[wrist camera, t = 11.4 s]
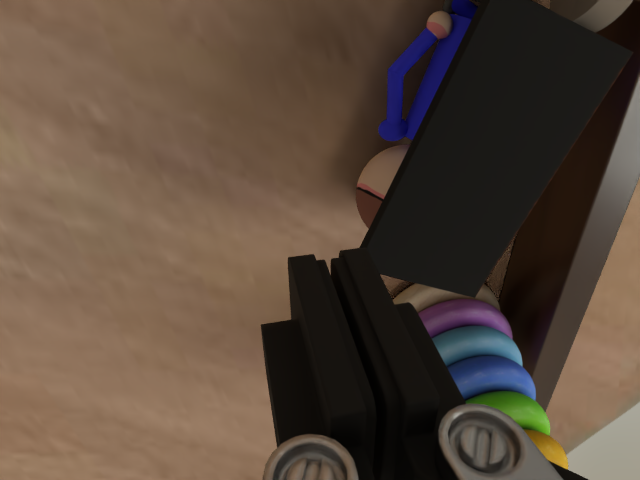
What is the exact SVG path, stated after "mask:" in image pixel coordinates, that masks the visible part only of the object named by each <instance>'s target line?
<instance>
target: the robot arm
mask: <svg viewBox="0 0 640 480" xmlns="http://www.w3.org/2000/svg"><path fill="white" fill-rule="evenodd" d="M288 274H289V290H290V307H291V320H287V321H281V322H274V323H267V324H261V331H262V341H263V350H264V358H265V366H266V374H267V381H268V388H269V395H270V402H271V409H272V415H273V422H274V429H275V436H276V442H277V449H276V450H274V451H273V452H272V454H271V456H270V458H269V459H268V461H267V463H266V465H265V470H264V475H263V480H588V479H586V478H584V477H582V476H580V475H578V474H576V473H573V472H571V471H569V470H567V469H565V468H563V467H561V466H559V465H557V464H555V463H553V462H551V461H549V460H547V459H546V457H545V456H544V455H543V454H542V452H541V451H540V450H539V449H538V447H537V446H536V445H535V444H534V442H533V441H532V440H531V439H530V437H529V436H528V435H527V434H526V432H525V431H524V430H523V429H522V428H521V426H520V425H519V424H518V423H517V422H515V421H514V420H513V419H512V418H511V417H510V416H509V415H507V414H505V413H504V412H502V411H500V410H499V409H496V408H493V407H490V406H487V405H484V404H473V403H470V404H466V402H465V400H464V398H463V396H462V394H461V392H460V391H459V389H458V387H457V385H456V383H455V381H454V379H453V378H452V376H451V374H450V372H449V370H448V368H447V366H446V365H445V363H444V361H443V359H442V357H441V355H440V353H439V352H438V350H437V348H436V346H435V344H434V342H433V340H432V339H431V337H430V335H429V333H428V331H427V329H426V327H425V326H424V324H423V322H422V320H421V318H420V316H419V314H418V313H417V311H416V309H415V308H414V306H413V305H412V304H411V303H410V302H407V303H400V304H394V302H393V300H392V298H391V296H390V294H389V292H388V290H387V288H386V286H385V284H384V282H383V280H382V278H381V276H380V274H379V272H378V270H377V268H376V266H375V264H374V262H373V260H372V258H371V256H370V254H369V252H368V250H367V248H357V249H350V250H342V251H340V253H339V258H333V259H331V275H330V273H329V270H328V267H327V264H326V262H325V260H318V261H316V258H315V256H314V254H311V255H304V256H296V257H288Z"/></svg>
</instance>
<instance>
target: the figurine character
mask: <svg viewBox="0 0 640 480" xmlns="http://www.w3.org/2000/svg"><path fill="white" fill-rule="evenodd" d="M475 1H477V2H479V3H480V4H479V6H476V5H475V4H473V3H472V2H470V1H469V0H445V3H444V5H443V11H437V12H434V13H433V14H432V15H431V16H430V17H429V18H428V21H427V27H426V28H425V29H424V30H423V31H422V33H421V34H420V35H419V36H418V37H417V38H416V39H415V40H414V41H413V42H412V43H411V45H410V46H409V47H408V48H407V49H406V50H405V51H404V52H403V53H402V54H401V56H400V57H399V58H398V59H397V60H396V61H395V62H394V63H393V64H392V65H391V66H390V68H389V69H388V84H387V119H385V120H384V121H383V122H382V123H381V124H380V125H379V128H378V132H379V135H380V136H381V137H382V138H383V139H385V140H387V141H397V140H400V139H402V138H403V137H407V138H409V139H411V140H412V142H411V144H405V145H398V146H394V147H390V148H388V149H386V150H383V151H382V152H380V153H379V154H377V155H376V156H375V157H373V158H372V159H371V160H370V161H369V162H368V164H367V165H366V166H365V168H364V169H363V171H362V173H361V175H360V177H359V180H358V183H357V188H356V203H357V207H358V211H359V214H360V216H361V218H362V220H363V222H364V223H365V225H366V226H367V227H368V228H369V230H368V232H367V234H366V236H365V238H364V240H363V242H362V244H361V246H360V248H367V250H368V252H369V254H370V256H371V258H372V260H373V262H374V264H375V266H376V268H377V270H378V272H379V274H381V275H385V276H389V277H393V278H397V279H401V280H405V281H409V282H413V283H417V284H421V285H425V286H429V287H433V288H437V289H441V290H445V291H449V292H453V293H457V294H461V295H465V296H469V297H473V298H475V297H476V295H477V294H478V292H479V291H480V289H481V288H482V286H483V284H484V283H485V281H486V280H487V278H488V277H489V275H490V274H491V272H492V271H493V269H494V267H495V266H496V264H497V263H498V261H499V260H500V258H501V257H502V255H503V254H504V252H505V250H506V249H507V247H508V246H509V244H510V243H511V241H512V240H513V238H514V237H515V235H516V233H517V232H518V230H519V229H520V227H521V226H522V224H523V223H524V221H525V220H526V218H527V216H528V215H529V213H530V212H531V210H532V209H533V207H534V206H535V204H536V203H537V201H538V199H539V198H540V196H541V195H542V193H543V192H544V190H545V189H546V187H547V186H548V184H549V182H550V181H551V179H552V178H553V176H554V175H555V173H556V172H557V170H558V169H559V167H560V165H561V164H562V162H563V161H564V159H565V158H566V156H567V155H568V153H569V152H570V150H571V148H572V147H573V145H574V144H575V142H576V141H577V139H578V138H579V136H580V135H581V133H582V131H583V130H584V128H585V127H586V125H587V124H588V122H589V121H590V119H591V118H592V116H593V114H594V113H595V111H596V110H597V108H598V107H599V105H600V104H601V102H602V100H603V99H604V97H605V96H606V94H607V93H608V91H609V90H610V88H611V87H612V85H613V83H614V82H615V80H616V79H617V77H618V76H619V74H620V73H621V71H622V70H623V68H624V66H625V65H626V63H627V62H628V60H629V59H630V57H631V56H632V54H633V53H634V52H632V51H630V50H628V49H626V48H624V47H622V46H620V45H618V44H616V43H614V42H612V41H610V40H608V39H607V38H605V37H603V36H601V35H599V34H597V33H595V32H598V31H600V30H602V29H603V28H605V27H606V26H608V25H609V24H611V23H612V22H613V21H614V20H616V19H617V18H618V17H619V16H620V15H621V14H622V13H623V12H624V11H625V10H626V9H627V7H628V6H629V5H630V4H631V3H632V1H633V0H550V10H549V9H547V8H545V7H543V6H542V5H540V4H538V3H536V2H534V1H532V0H475ZM455 13H456V14H458V15H455ZM437 39H439V42H438V44H437V46H436V49H435V51H434V54H433V56H432V58H431V61H430V63H429V65H428V68H427V70H426V72H425V75H424V77H423V80H422V82H421V84H420V87H419V89H418V91H417V94H416V96H415V99H414V101H413V103H412V106H411V108H410V110H409V113H408V115H407V117H406V120H404V119H402V104H403V80H404V75H405V74H406V73H407V72H408V71H409V69H410V68H411V67H412V66H413V65H414V64H415V63H416V62H417V61H418V60H419V59H420V58H421V56H422V55H423V54H424V53H425V52H426V51H427V50H428V49H429V48H430V47H431V46H432V45H433V44H434V42H435V41H436V40H437Z"/></svg>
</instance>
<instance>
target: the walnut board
mask: <svg viewBox="0 0 640 480" xmlns="http://www.w3.org/2000/svg"><path fill="white" fill-rule="evenodd" d="M595 33H597V34H599V35H601V36H603V37H605V38H607V39H608V40H610V41H612V42H614V43H616V44H618V45H620V46H622V47H624V48H626V49H628V50H630V51H632V52H634V53H633V54H632V56H631V57H630V59H629V60H628V62H627V63H626V65H625V66H624V68H623V70H622V71H621V73H620V74H619V76H618V77H617V79H616V80H615V82H614V83H613V85H612V87H611V88H610V90H609V91H608V93H607V94H606V96H605V97H604V99H603V100H602V102H601V104H600V105H599V107H598V108H597V110H596V111H595V113H594V114H593V116H592V118H591V119H590V121H589V122H588V124H587V125H586V127H585V128H584V130H583V131H582V133H581V135H580V136H579V138H578V139H577V141H576V142H575V144H574V145H573V147H572V148H571V150H570V152H569V153H568V155H567V156H566V158H565V159H564V161H563V162H562V164H561V165H560V167H559V169H558V170H557V172H556V173H555V175H554V176H553V178H552V179H551V181H550V182H549V184H548V186H547V187H546V189H545V190H544V192H543V193H542V195H541V196H540V198H539V199H538V201H537V203H536V204H535V206H534V207H533V209H532V210H531V212H530V213H529V215H528V216H527V218H526V220H525V221H524V223H523V224H522V226H521V227H520V229H519V230H518V232H517V236H516V240H515V244H514V247H513V251H512V255H511V259H510V263H509V266H508V270H507V274H506V278H505V282H504V285H503V289H502V293H501V297H500V301H499V307H500V312H501V313H502V314H503V315H504V316H505V318H506V319H507V321H508V322H509V324H510V327H511V330H512V340H513V341H514V342H515V344H516V345H517V347H518V349H519V351H520V353H521V357H522V363H523V364H522V367H523V368H524V369H525V370H526V371H527V372H528V373H529V375H530V376H531V378H532V380H533V382H534V385H535V390H536V399H535V401H536V402H537V403H538V404H539V405H540V406H541V407H542V409H543V410H544V412H546V409H547V407H548V404H549V402H550V399H551V397H552V394H553V392H554V389H555V387H556V384H557V382H558V379H559V377H560V374H561V372H562V369H563V367H564V364H565V362H566V359H567V357H568V354H569V352H570V349H571V347H572V344H573V342H574V339H575V337H576V334H577V332H578V329H579V327H580V324H581V322H582V319H583V317H584V314H585V312H586V309H587V307H588V304H589V302H590V299H591V297H592V294H593V292H594V289H595V287H596V284H597V282H598V280H599V277H600V275H601V272H602V270H603V267H604V265H605V262H606V260H607V257H608V255H609V252H610V250H611V247H612V245H613V242H614V240H615V237H616V235H617V232H618V230H619V227H620V225H621V222H622V220H623V217H624V215H625V212H626V210H627V207H628V205H629V202H630V200H631V197H632V195H633V192H634V190H635V187H636V185H637V182H638V180H639V177H640V0H633V1H632V3H631V4H630V5H629V6H628V7H627V9H626V10H625V11H624V12H623V13H622V14H621V15H620V16H619V17H618V18H617V19H616V20H614V21H613V22H612V23H611V24H609V25H608V26H606V27H605V28H603V29H602V30H600V31H598V32H595Z"/></svg>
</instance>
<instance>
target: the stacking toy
mask: <svg viewBox="0 0 640 480" xmlns="http://www.w3.org/2000/svg"><path fill="white" fill-rule="evenodd" d="M393 302H394V304H400V303H407V302H410V303H411V304H412V305H413V306H414V308H415V309H416V311H417V313H418V314H419V316H420V318H421V320H422V322H423V324H424V326H425V327H426V329H427V331H428V333H429V335H430V337H431V339H432V340H433V342H434V344H435V346H436V348H437V350H438V352H439V353H440V355H441V357H442V359H443V361H444V363H445V365H446V366H447V368H448V370H449V372H450V374H451V376H452V378H453V379H454V381H455V383H456V385H457V387H458V389H459V391H460V392H461V394H462V396H463V398H464V400H465V402H466V404H470V403H473V404H484V405H487V406H490V407H493V408H496V409H499V410H500V411H502V412H504V413H505V414H507V415H509V416H510V417H511V418H512V419H513V420H514V421H515V422H517V423H518V424H519V425H520V426H521V428H522V429H523V430H524V431H525V432H526V434H527V435H528V436H529V437H530V439H531V440H532V441H533V442H534V444H535V445H536V446H537V447H538V449H539V450H540V451H541V452H542V454H543V455H544V456H545V457H546V459H547V460H549V461H551V462H553V463H555V464H557V465H559V466H561V467H563V468H565V469H567V470H568V461H567V457H566V454H565V452H564V450H563V448H562V447H561V446H560V444H559V443H558V442H557V441H556V440H554V439H553V438H552V437H550V424H549V420H548V418H547V415H546V413H545V412H544V410H543V409H542V407H541V406H540V405H539V404H538V403H537V402H536V401H535V399H536V390H535V385H534V382H533V380H532V378H531V376H530V375H529V373H528V372H527V371H526V370H525V369H524V368H523V367H522V364H523V363H522V357H521V353H520V351H519V349H518V347H517V345H516V344H515V342H514V341H513V340H512V330H511V327H510V324H509V322H508V321H507V319H506V318H505V316H504V315H503V314H502V313H501V312H500V307H499V303H498V301H497V299H496V297H495V295H494V293H493V292H492V291H491V290H490V289H489V288H488V287H487V286H486V285H485V284H483V286H482V288H481V289H480V291H479V292H478V294H477V295H476V297H475V298H473V297H469V296H465V295H461V294H457V293H453V292H449V291H445V290H441V289H437V288H433V287H429V286H425V285H421V284H417V283H416V284H414V285H412V286H410V287H409V288H407V289H405V290H404V291H403V292H401V293H400V294H399V295H398V296H397V297H396V298H394V299H393Z"/></svg>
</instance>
